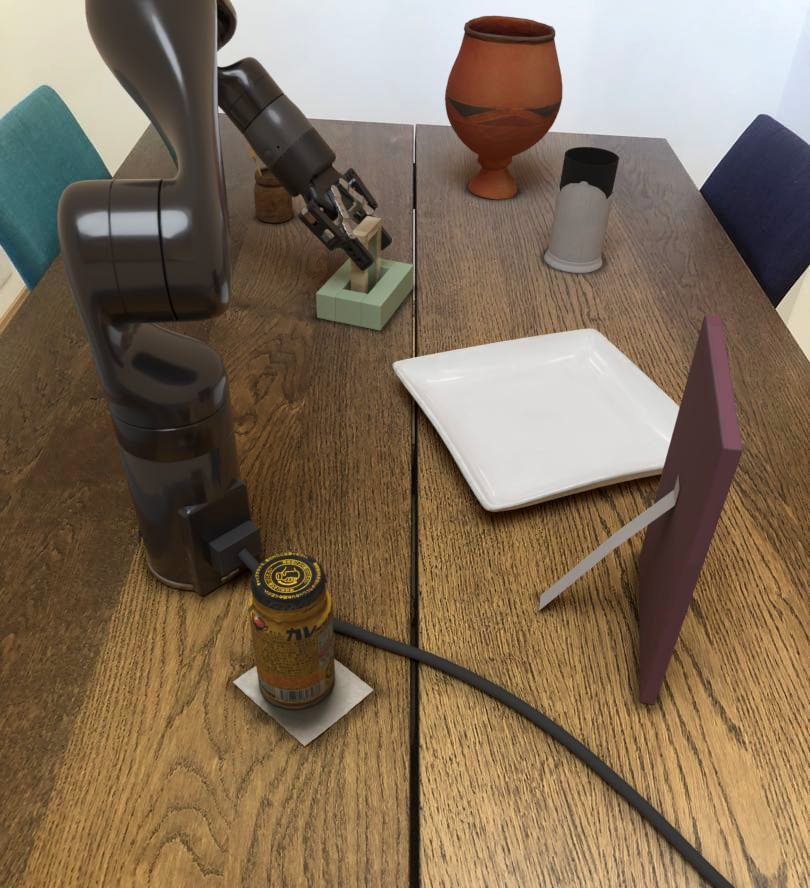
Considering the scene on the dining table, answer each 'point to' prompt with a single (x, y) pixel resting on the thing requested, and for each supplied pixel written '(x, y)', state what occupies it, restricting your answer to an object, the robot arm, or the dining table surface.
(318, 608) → the condiment
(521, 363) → the square plate
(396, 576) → the dining table surface
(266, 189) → the utensil holder
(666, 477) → the picture frame
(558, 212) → the glass holder
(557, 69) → the goblet
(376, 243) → the frame
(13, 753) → the dining table surface
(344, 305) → the holder
